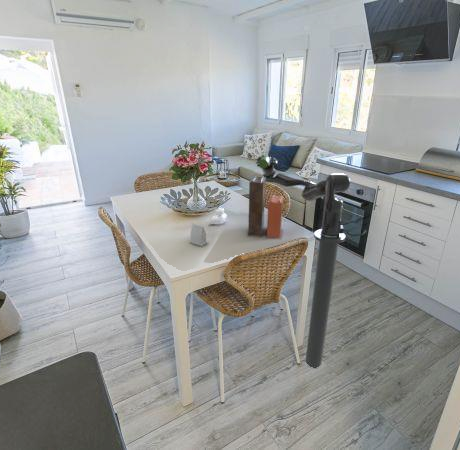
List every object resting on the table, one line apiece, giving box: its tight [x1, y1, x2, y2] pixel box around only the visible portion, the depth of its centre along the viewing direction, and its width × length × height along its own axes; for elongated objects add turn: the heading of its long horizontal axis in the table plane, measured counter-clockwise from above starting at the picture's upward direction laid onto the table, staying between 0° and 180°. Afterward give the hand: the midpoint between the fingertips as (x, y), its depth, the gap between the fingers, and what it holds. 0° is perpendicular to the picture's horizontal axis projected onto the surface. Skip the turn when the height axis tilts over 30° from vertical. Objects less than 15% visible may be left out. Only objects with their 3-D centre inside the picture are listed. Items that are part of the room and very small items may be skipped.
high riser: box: [247, 175, 266, 237], centre depth 169 cm, size 7×12×31 cm, turn 171°
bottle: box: [258, 154, 270, 169], centre depth 177 cm, size 5×21×5 cm, turn 171°
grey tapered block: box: [190, 223, 207, 247], centre depth 158 cm, size 4×7×10 cm, turn 58°
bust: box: [209, 207, 228, 226], centre depth 183 cm, size 12×8×11 cm
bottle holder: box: [266, 194, 284, 239], centre depth 170 cm, size 7×12×21 cm, turn 171°
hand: (266, 156), depth 180 cm, fingers closed on bottle, 2 cm apart
